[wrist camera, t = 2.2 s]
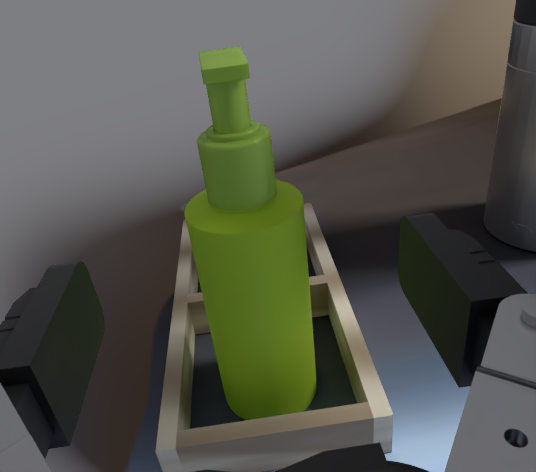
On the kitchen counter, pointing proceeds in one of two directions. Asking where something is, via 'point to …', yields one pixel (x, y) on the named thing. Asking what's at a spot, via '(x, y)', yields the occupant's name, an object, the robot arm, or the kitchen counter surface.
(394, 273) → the kitchen counter surface
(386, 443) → the caddy
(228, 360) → the soap dispenser
